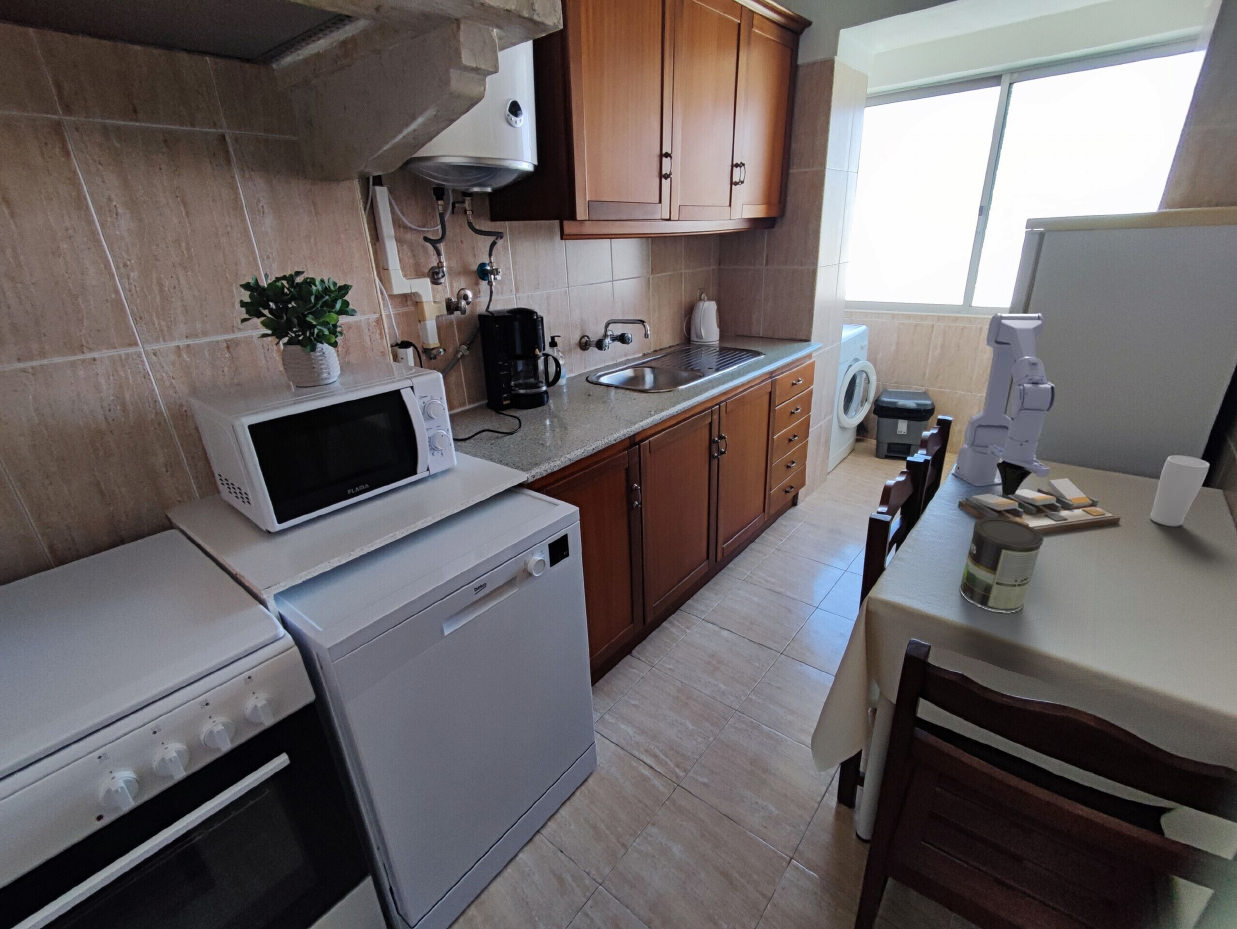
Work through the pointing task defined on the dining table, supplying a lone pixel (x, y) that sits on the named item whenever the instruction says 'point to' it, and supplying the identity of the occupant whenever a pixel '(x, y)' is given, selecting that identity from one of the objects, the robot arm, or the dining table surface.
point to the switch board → (1045, 513)
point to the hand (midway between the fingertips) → (1008, 493)
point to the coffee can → (1000, 563)
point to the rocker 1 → (995, 502)
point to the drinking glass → (1178, 488)
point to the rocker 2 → (1069, 492)
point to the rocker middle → (1034, 497)
